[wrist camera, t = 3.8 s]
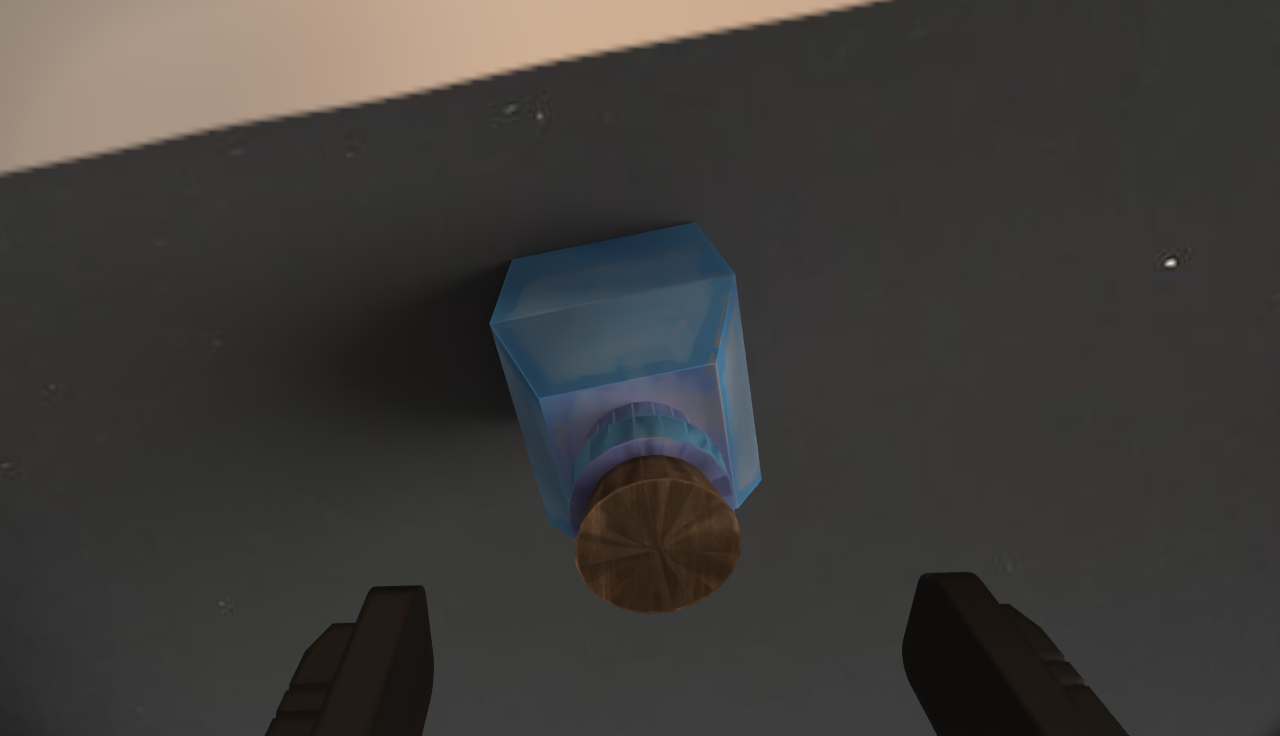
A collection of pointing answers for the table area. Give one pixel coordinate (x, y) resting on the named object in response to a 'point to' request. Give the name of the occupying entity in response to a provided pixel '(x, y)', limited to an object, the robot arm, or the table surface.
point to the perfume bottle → (634, 409)
